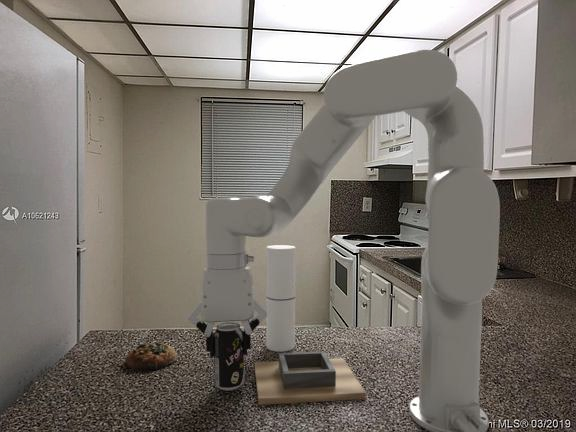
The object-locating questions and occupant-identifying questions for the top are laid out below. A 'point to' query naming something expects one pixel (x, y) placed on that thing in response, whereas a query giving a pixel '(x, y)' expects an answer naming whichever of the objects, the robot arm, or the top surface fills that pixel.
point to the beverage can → (228, 356)
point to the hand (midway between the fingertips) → (228, 352)
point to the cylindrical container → (280, 298)
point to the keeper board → (305, 379)
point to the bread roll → (151, 357)
